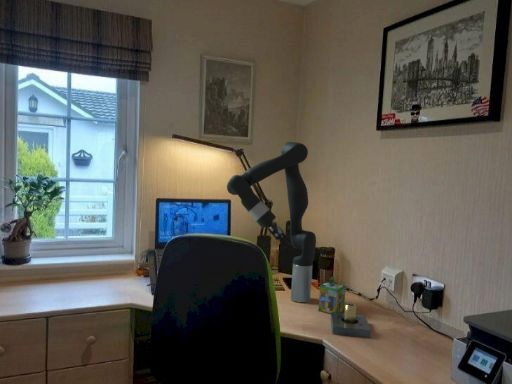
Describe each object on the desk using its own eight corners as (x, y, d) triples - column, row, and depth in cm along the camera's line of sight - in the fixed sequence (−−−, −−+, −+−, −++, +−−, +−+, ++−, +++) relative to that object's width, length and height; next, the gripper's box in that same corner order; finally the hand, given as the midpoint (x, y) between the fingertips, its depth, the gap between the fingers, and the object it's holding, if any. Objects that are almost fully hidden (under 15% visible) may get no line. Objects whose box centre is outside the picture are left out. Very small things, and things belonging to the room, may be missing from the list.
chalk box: (337, 316, 177) (339, 282, 177) (317, 311, 182) (319, 278, 181) (344, 310, 185) (347, 277, 184) (325, 305, 190) (328, 274, 189)
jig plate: (330, 319, 173) (330, 312, 173) (364, 322, 171) (365, 315, 171) (332, 334, 157) (333, 326, 157) (370, 337, 155) (370, 330, 155)
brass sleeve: (342, 325, 167) (344, 302, 166) (354, 326, 166) (355, 303, 166) (343, 329, 162) (345, 305, 162) (355, 330, 162) (357, 306, 161)
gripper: (267, 210, 165) (294, 240, 164) (270, 207, 179) (295, 235, 178) (253, 222, 166) (279, 253, 165) (257, 218, 180) (282, 246, 179)
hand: (287, 243), depth 172 cm, fingers open, 8 cm apart
